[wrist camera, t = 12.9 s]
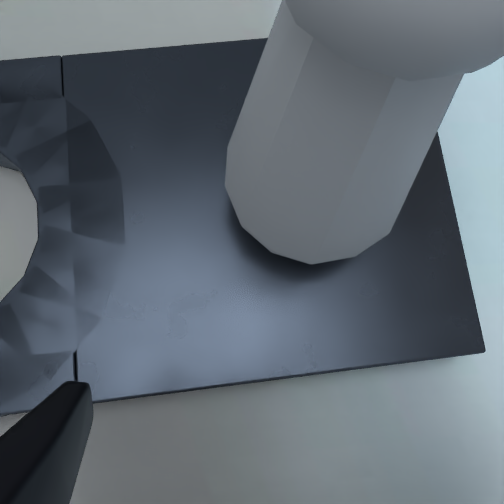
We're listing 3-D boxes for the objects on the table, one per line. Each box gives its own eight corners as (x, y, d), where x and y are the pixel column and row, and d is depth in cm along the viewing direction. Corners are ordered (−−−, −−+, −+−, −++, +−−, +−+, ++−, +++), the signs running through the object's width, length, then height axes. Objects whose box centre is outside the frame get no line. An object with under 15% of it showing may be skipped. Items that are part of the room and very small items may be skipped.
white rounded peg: (399, 149, 18) (786, -338, 5) (364, 295, 17) (762, 106, 4) (250, 107, 18) (285, -464, 6) (204, 248, 17) (118, -70, 4)
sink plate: (393, 58, 22) (414, 20, 19) (455, 357, 19) (488, 356, 17) (-190, 111, 20) (-249, 77, 18) (-215, 444, 17) (-288, 458, 15)
